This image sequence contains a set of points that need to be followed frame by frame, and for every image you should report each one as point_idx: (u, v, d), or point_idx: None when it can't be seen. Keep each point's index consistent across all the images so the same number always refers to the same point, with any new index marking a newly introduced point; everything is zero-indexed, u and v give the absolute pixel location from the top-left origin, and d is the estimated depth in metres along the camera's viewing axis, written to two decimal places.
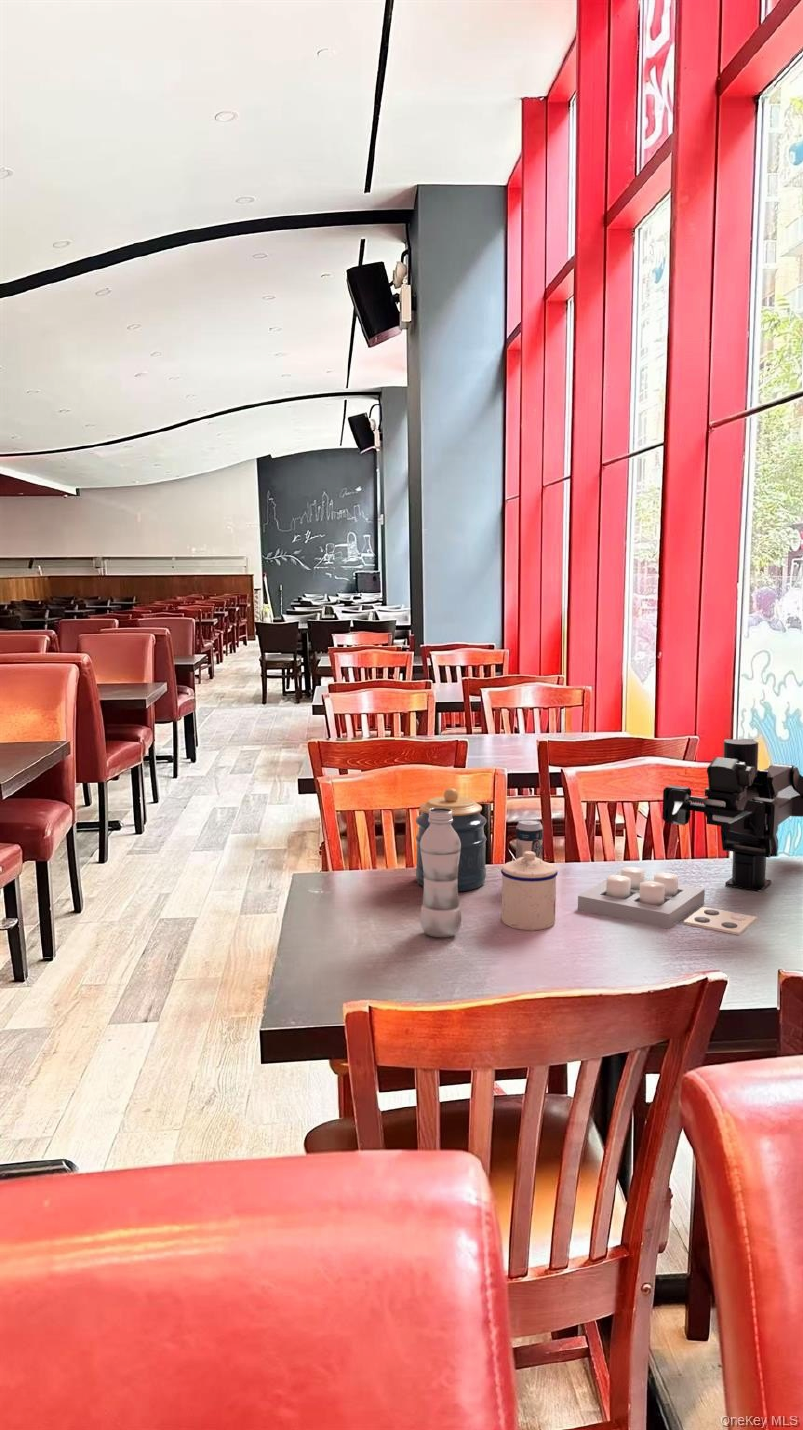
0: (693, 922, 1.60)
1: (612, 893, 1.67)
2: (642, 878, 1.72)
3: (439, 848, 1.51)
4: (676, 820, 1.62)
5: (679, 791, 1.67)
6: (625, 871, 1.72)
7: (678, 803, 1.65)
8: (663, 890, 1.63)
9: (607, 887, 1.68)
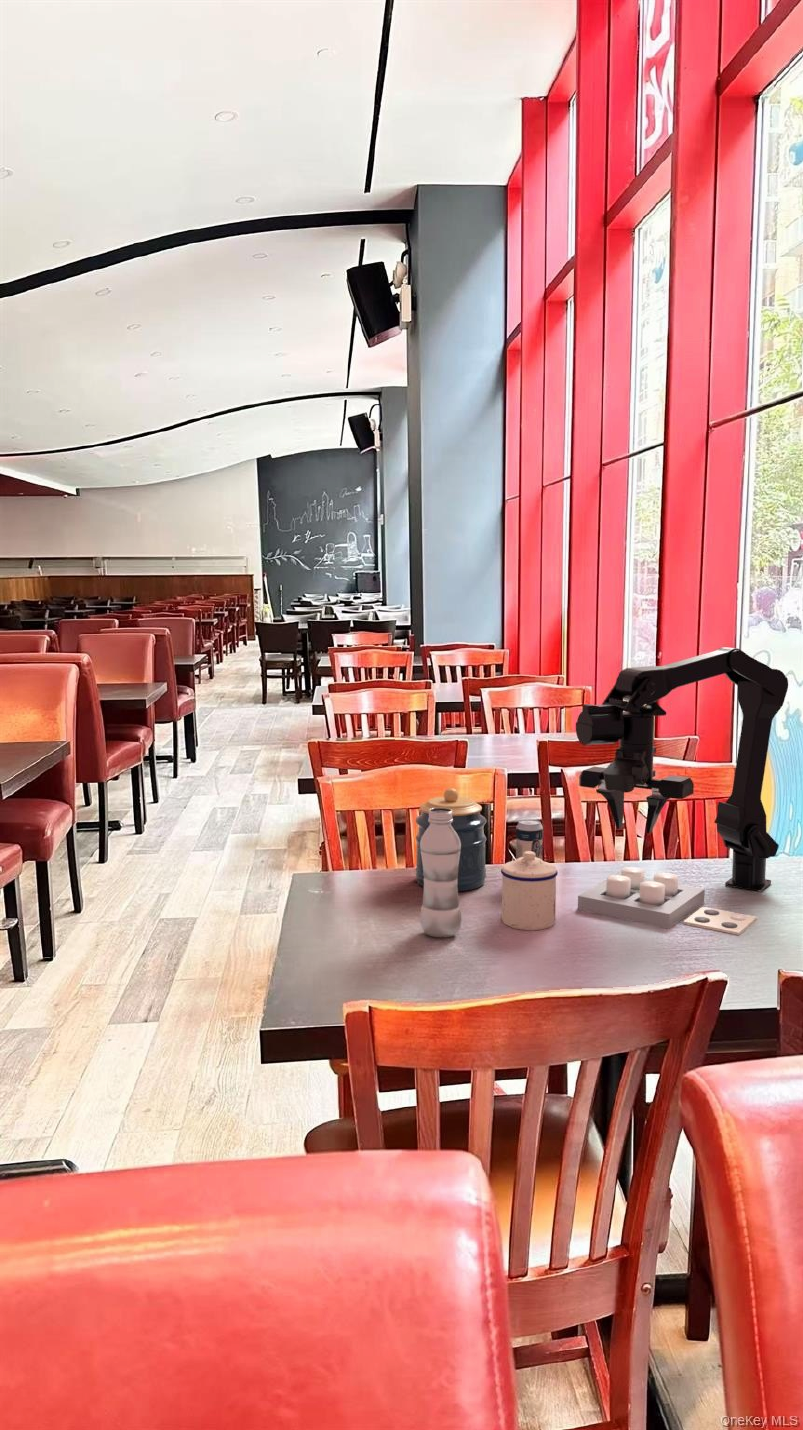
0: (693, 922, 1.60)
1: (612, 893, 1.67)
2: (642, 878, 1.72)
3: (439, 848, 1.51)
4: (622, 821, 1.74)
5: (604, 793, 1.71)
6: (625, 871, 1.72)
7: (612, 805, 1.72)
8: (663, 890, 1.63)
9: (607, 887, 1.68)
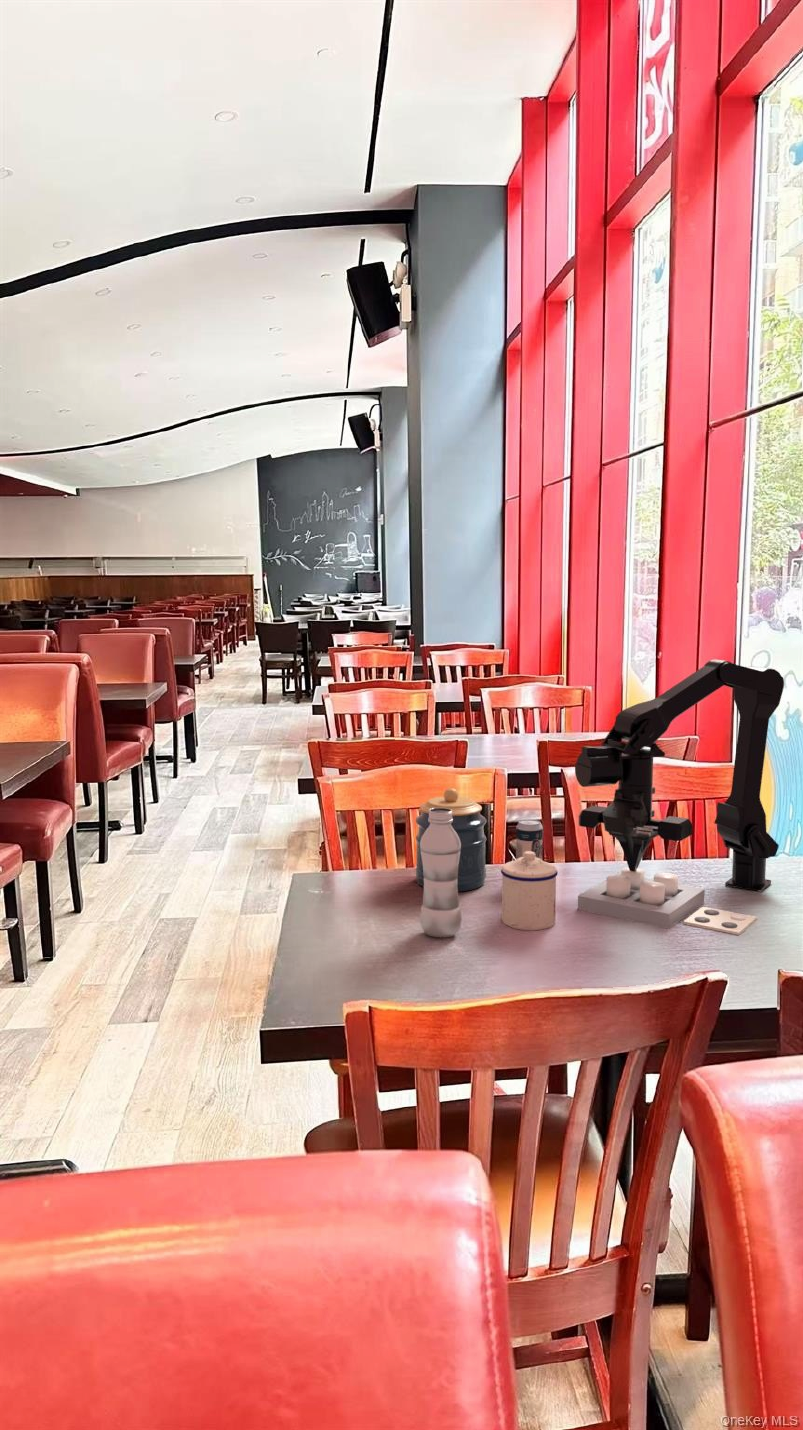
0: (693, 922, 1.60)
1: (612, 893, 1.67)
2: (642, 878, 1.72)
3: (439, 848, 1.51)
4: None
5: (617, 835, 1.71)
6: (625, 872, 1.72)
7: (625, 847, 1.72)
8: (663, 890, 1.63)
9: (607, 887, 1.68)
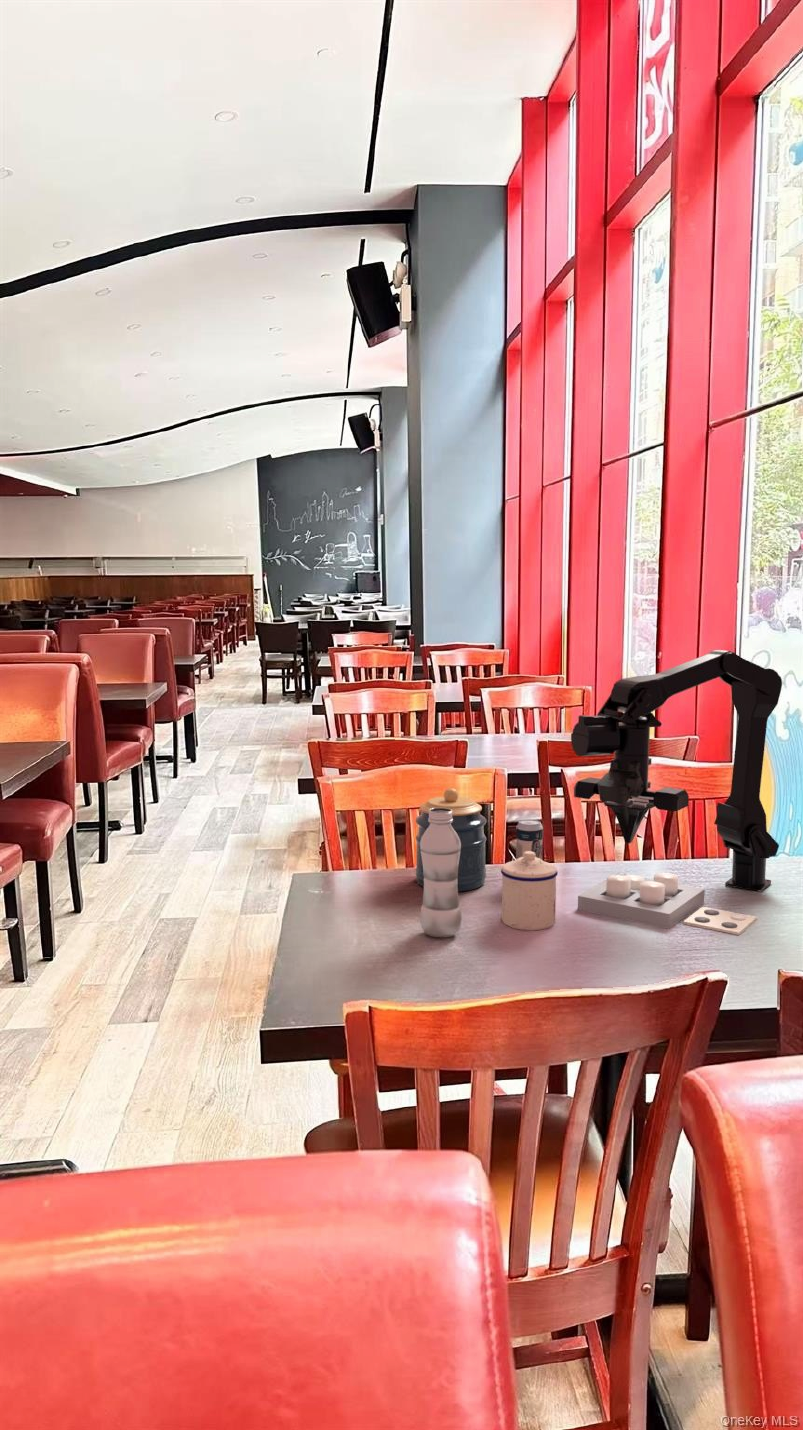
0: (693, 922, 1.60)
1: (612, 893, 1.67)
2: None
3: (439, 848, 1.51)
4: None
5: (612, 806, 1.69)
6: None
7: (620, 818, 1.70)
8: (663, 890, 1.63)
9: (607, 887, 1.68)
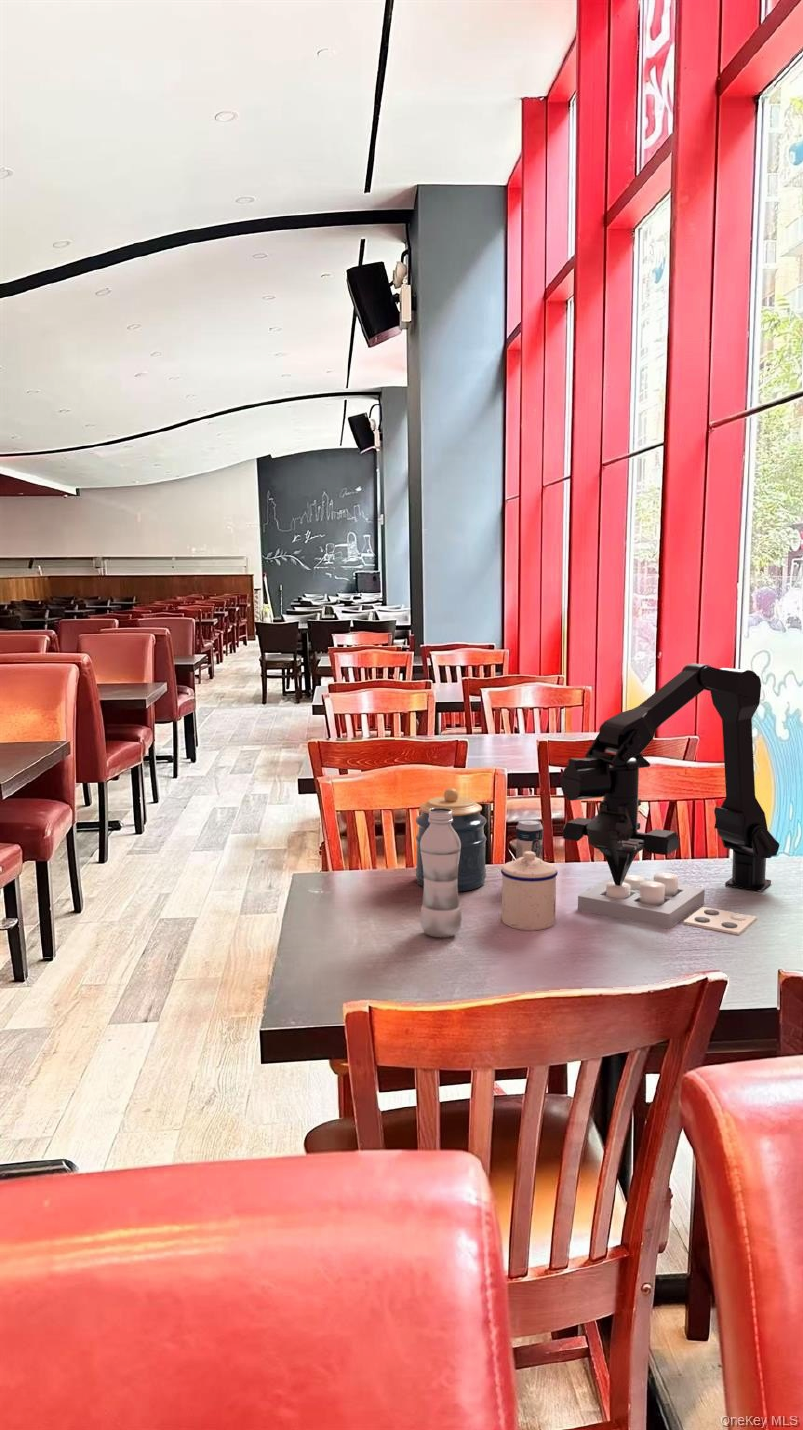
0: (693, 922, 1.60)
1: None
2: None
3: (439, 848, 1.51)
4: None
5: (602, 848, 1.66)
6: (625, 879, 1.72)
7: (610, 860, 1.67)
8: (663, 890, 1.63)
9: (607, 893, 1.68)
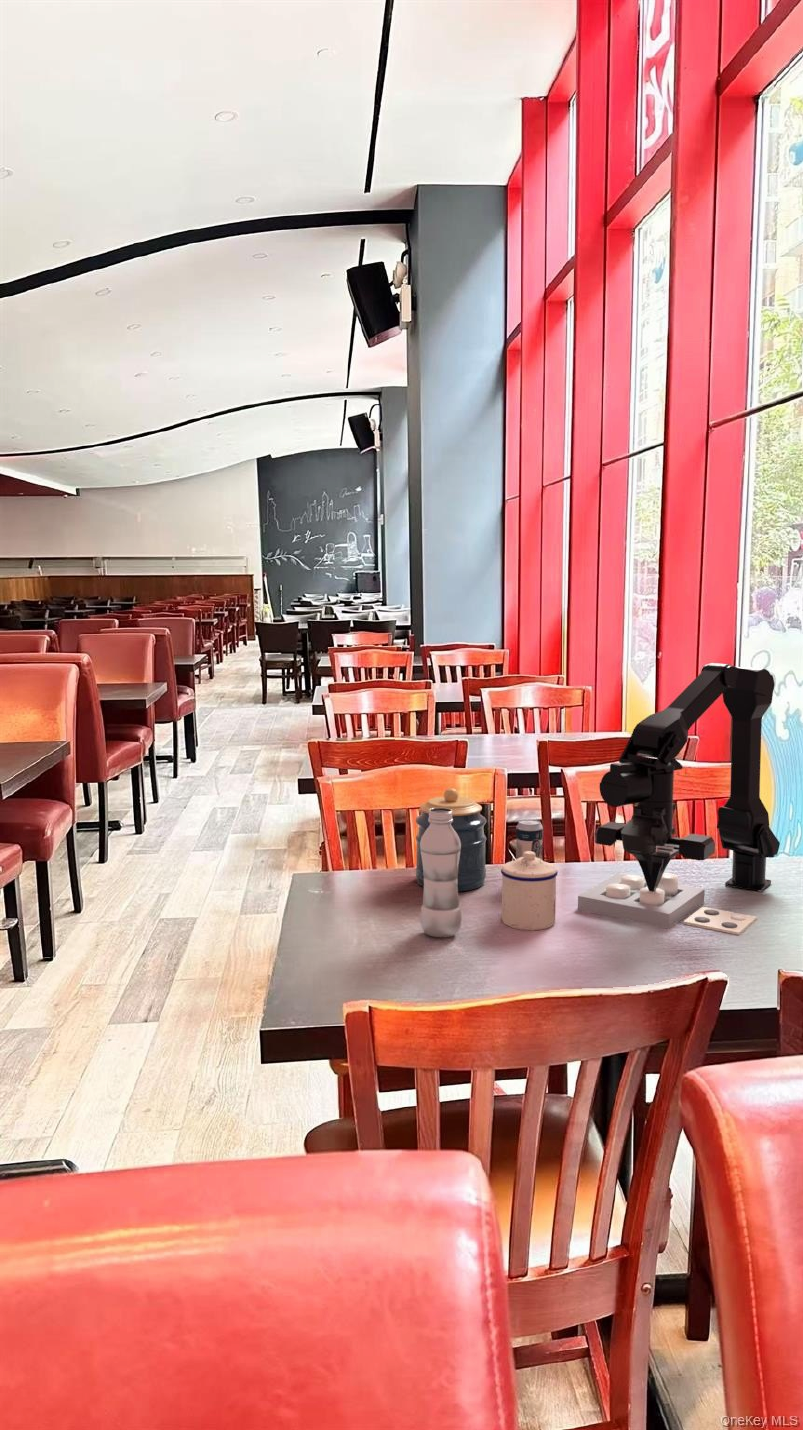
0: (693, 922, 1.60)
1: None
2: (642, 886, 1.72)
3: (439, 848, 1.51)
4: None
5: (636, 853, 1.63)
6: (625, 879, 1.72)
7: (644, 866, 1.64)
8: (663, 896, 1.64)
9: (607, 895, 1.68)
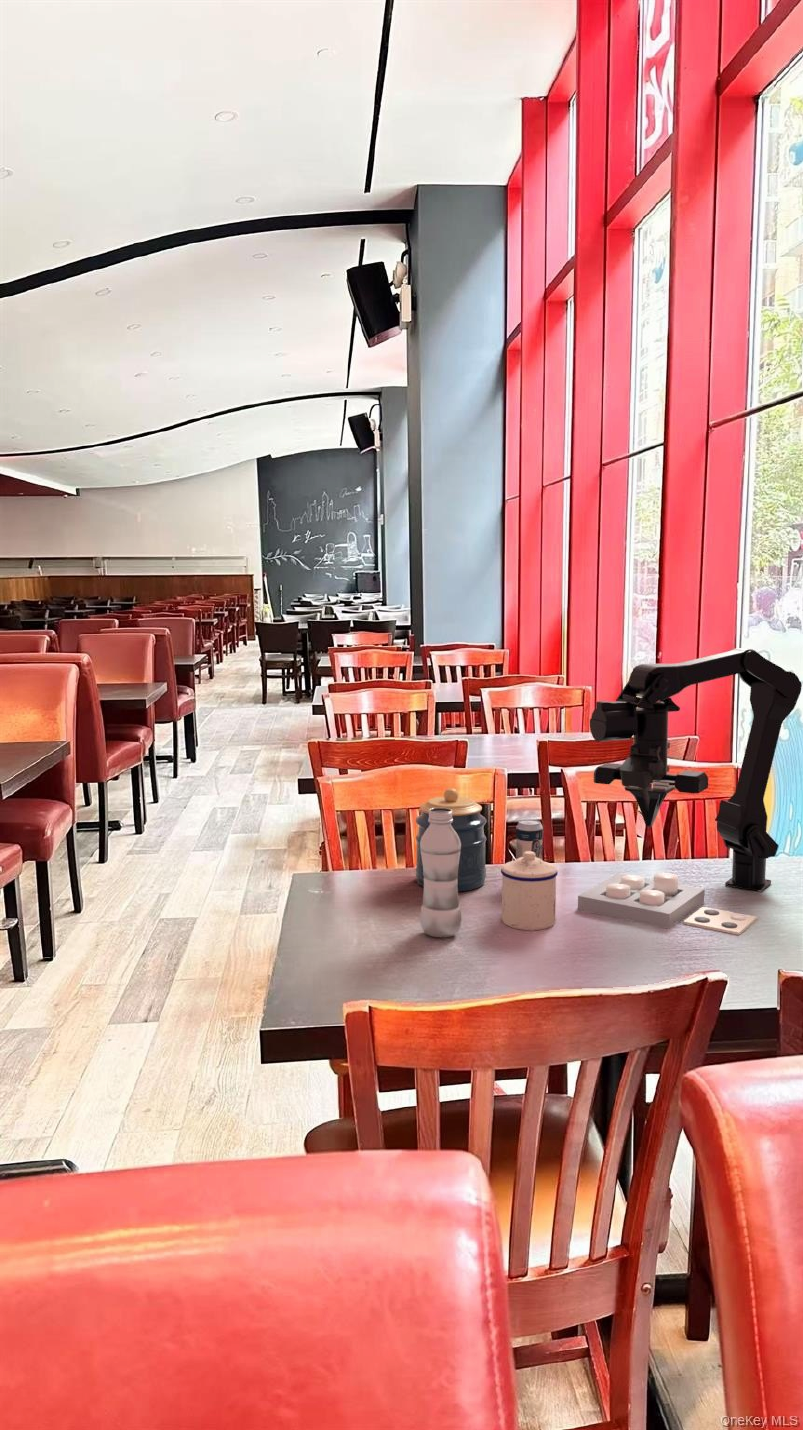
0: (693, 922, 1.60)
1: None
2: (642, 886, 1.72)
3: (439, 848, 1.51)
4: None
5: (633, 790, 1.71)
6: (625, 879, 1.72)
7: (641, 802, 1.72)
8: (663, 899, 1.64)
9: (607, 895, 1.68)
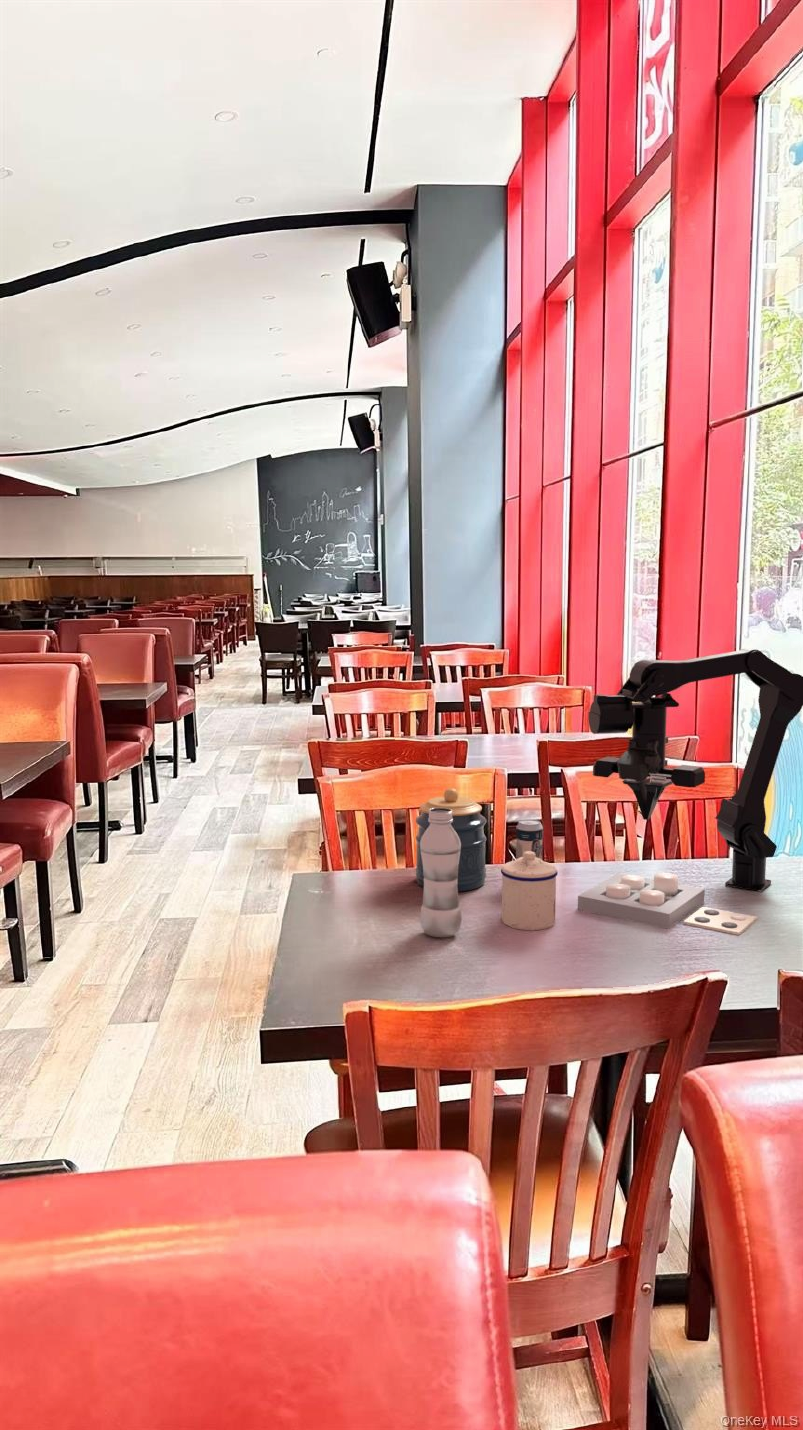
0: (693, 922, 1.60)
1: None
2: (642, 886, 1.72)
3: (439, 848, 1.51)
4: None
5: (631, 784, 1.74)
6: (625, 879, 1.72)
7: (638, 795, 1.75)
8: (663, 899, 1.64)
9: (607, 895, 1.68)
